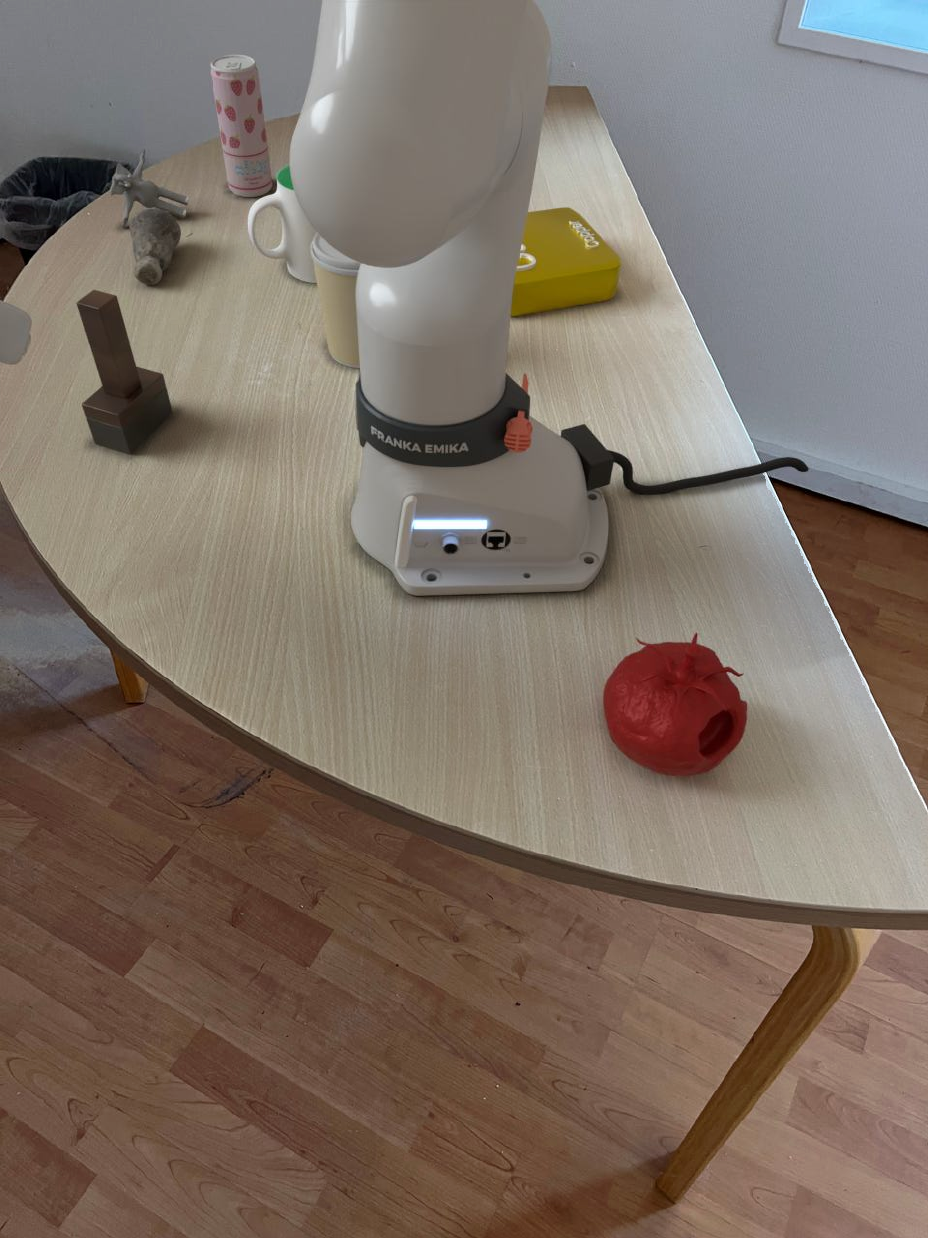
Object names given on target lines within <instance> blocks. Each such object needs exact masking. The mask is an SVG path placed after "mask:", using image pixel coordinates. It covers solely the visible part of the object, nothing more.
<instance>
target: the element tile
mask: <svg viewBox="0 0 928 1238" xmlns="http://www.w3.org/2000/svg"><path fill="white" fill-rule="evenodd" d="M612 248H613V247H611V246H610V245H609V244H608V243H607V241H605V240H604V239H603V238H602V236H601V235H599V233H598V232H597V231H596V230H595V229H594V228H593V226H592V225H590V224H589V222H588V221H587V220H586V219H585V218H584V217H583V216H582V215H581V214H580V213H579V212H578V211H576V210H574V209H573V208H571V207H566V206H565V207H564V206H563V207H555V208H548V209H541V210H535V211H528V214H527V219H526V224H525V230H524V235H523V240H522V245H521V250H520V255H519V260H518V264H517V269H516V275H515V281H514V287H513V295H512V304H511V317H520V316H526V315H532V314H537V313H545V312H549V311H555V310H562V309H567V308H572V307H577V306H578V307H579V306H584V305H590V304H594V303H601V302H606V301H609V300H611V299H613V298H614V297H615V296H616V294H617V289H618V285H619V279H620V272H621V268H622V267H621V266H622V260H621V257H620V256H619V254H617V253H616V252H615V250H614V249H612Z"/></svg>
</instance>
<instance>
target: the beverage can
mask: <svg viewBox="0 0 928 1238" xmlns="http://www.w3.org/2000/svg"><path fill="white" fill-rule="evenodd" d="M210 77H211V84H212V90H213V97H214V103H215V108H216V117H217V121H218V128H219V134H220V141H221V147H222V154H223V160H224V167H225V174H226V180H227V185H228V189H229V190H230V191H231V192H232V193H233V194H234V195H236V196H238V197H243V198H257V197H260V196H264V195H266V194H267V193H269V192H270V190H271V189H272V188H273V177H272V169H271V162H270V161H271V160H270V153H269V145H268V139H267V129H266V122H265V115H264V114H265V113H264V106H263V99H262V90H261V83H260V76H259V69H258V67H257V63H256V61H255V59H253V58H252V57H250V56H249V55H243V54H225V55H221V56H217V57H215V58H214V59H212V60H211V62H210Z"/></svg>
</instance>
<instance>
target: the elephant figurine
mask: <svg viewBox="0 0 928 1238" xmlns="http://www.w3.org/2000/svg"><path fill="white" fill-rule="evenodd" d="M145 156H146V150H145V148H142V151H141V153H140V156H139V162H138V165H137V167H136V168H135V169H134V171H133V172H132V174H131V172H130V170H129V169H127V168H126V167H124V166H123V165H122V163H121V162H119V163H117V165H116V168H115V171H114V174H113V176H112V179H111V180H112V182H111V186H110V188H109V194H110V196H114V195H120V196H121V195H122V196H124V215H123V217H122V224H121V228H125V227H126V224H127V223H128V221H129V217H130V213H131V211H132V209H133V207H134V203H135V202H138V203H139V204H140V205H142V206H143V207H145V208H146V209H154V208H155V209H158V210H163V211H166V212H167V213H170V214H172V215H175V216H177V217H179V218H181V219H185V218H186V217H187V216H186V215H187V211H188V209H186V208H182V207H180V206H177V205H175V204H172V203H169V202H167V201H164V200H162V199H160V197H161V198H164V199H167V200H170V201H173V202H176V203H178V204H181V205H183V206H186V207H187V206H188V204H189V200H190V197H189V196H187V195H184V194H181V193H177V192H174V191H172V190H170V189H167V188H164V187H160V186H158V185H156V183H155V182H153V181H151V180H143V167H144V165H145V162H146V159H145Z"/></svg>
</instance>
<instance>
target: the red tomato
mask: <svg viewBox="0 0 928 1238" xmlns="http://www.w3.org/2000/svg"><path fill="white" fill-rule="evenodd" d="M698 636H699V635H698V632H695V633H694V635H693V638H692V640H691V642H688V641H685V642H684V641H683V642H682V641H678V642H676V641H665V642H664V641H663V642H658V643H649V642H645V641H641V640H640V639H639V638H638V637H635V639H636V641H637V643H638V644H640V645H642V646H644V647H642V648H641V649H640V650H638V651H635V652H632V653H630V654H628V655H626V656H625V657H624V658H622V660H621V661H619V662H618V664H617V665H616V667H615V668H614V669H613V671H612V672H611V674H610V676H608V678H607V680H606V681H605V684H604V688H603V692H602V693H603V694H602V707H603V713H604V719H605V723H606V727H607V731H608V733H609V737H610V740H611V742H612V743H613V744H614V745H615V746H616V748H617V749H618V750H619V751H620V752H621V753H622V754H623V755H624V756H626V757H627V758H628V759H629V760H631V761H632V762H634V763H635V764H638V766H641V767H642V768H644V769H646V770H649V771H651V772H654V773H656V774H659V775H663V776H671V777H672V776H673V777H690V776H695V775H703V774H705V773H708V772H710V771H712V770H713V769H714V768H717V767H718V766H719V765H720V764H722V761H724V759H725V758H727V756H729V755H730V754H731V753H732V752H734V750H736V748H737V747H738V745H739V744H740V742H741V740H742V738H743V737H744V735H745V732H746V726H747V721H748V703H747V701H746V700H742V699H741V692H740V690H739V688H738V686H737V685H736V684H735V683H734V682H733V681H732V679H731V677H730V676H729V674H728V673H730V674H732V675H733V676H735V677H737V678H741V677H743V676H744V673H739V672H737V671H736V670H735V669H734V668H732V667H731V666H724V665H723V663H722V662H721V660H720V658H719V656H718V655H717V653H716V651H715V650H713V649H712V648H710V647H709V646H708V647H707V646H705V645H702V644H699V643H698Z"/></svg>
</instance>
